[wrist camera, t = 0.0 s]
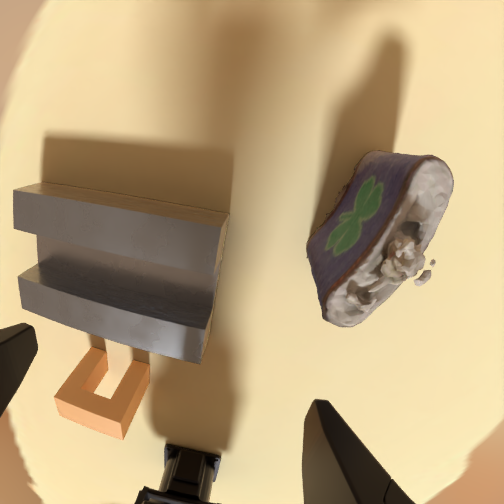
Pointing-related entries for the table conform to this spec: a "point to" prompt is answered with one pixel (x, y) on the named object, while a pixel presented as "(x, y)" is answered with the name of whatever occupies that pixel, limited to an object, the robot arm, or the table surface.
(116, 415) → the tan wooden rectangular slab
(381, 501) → the robot arm
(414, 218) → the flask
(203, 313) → the rail
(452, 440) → the table surface
